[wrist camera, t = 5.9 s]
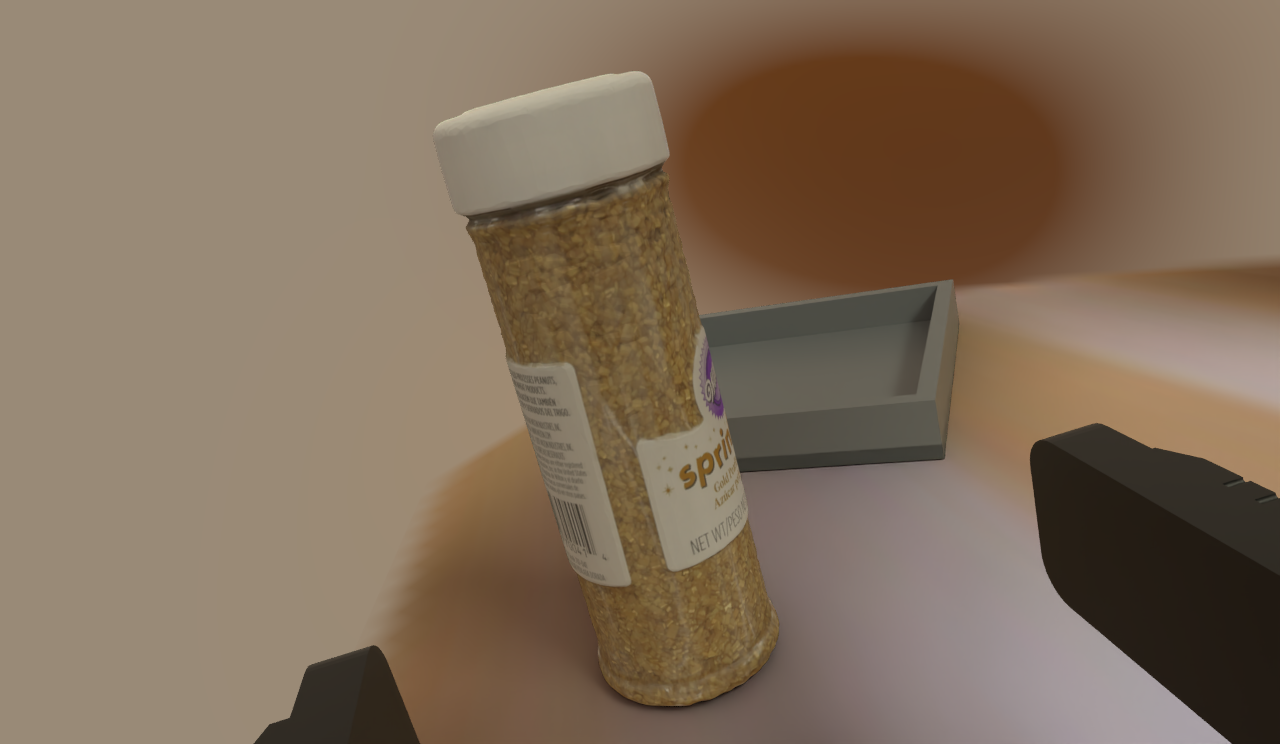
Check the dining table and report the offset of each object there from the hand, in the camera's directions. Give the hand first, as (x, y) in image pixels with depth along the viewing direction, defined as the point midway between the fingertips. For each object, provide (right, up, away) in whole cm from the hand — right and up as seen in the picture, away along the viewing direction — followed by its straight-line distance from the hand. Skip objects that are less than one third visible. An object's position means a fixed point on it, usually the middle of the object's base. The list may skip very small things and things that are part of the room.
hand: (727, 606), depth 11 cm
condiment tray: (+5, +2, +26) cm, 26 cm away
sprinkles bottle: (0, -4, +11) cm, 12 cm away
